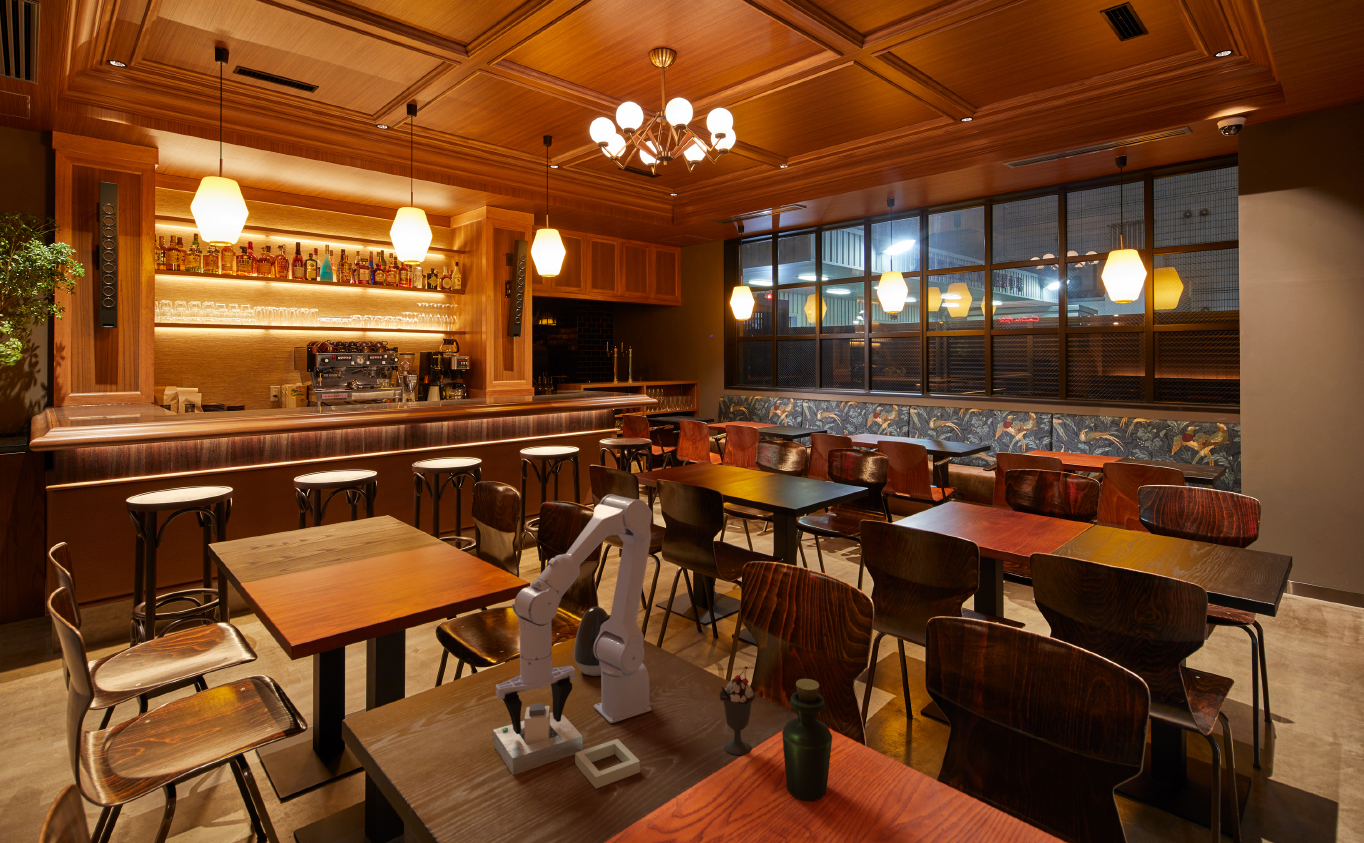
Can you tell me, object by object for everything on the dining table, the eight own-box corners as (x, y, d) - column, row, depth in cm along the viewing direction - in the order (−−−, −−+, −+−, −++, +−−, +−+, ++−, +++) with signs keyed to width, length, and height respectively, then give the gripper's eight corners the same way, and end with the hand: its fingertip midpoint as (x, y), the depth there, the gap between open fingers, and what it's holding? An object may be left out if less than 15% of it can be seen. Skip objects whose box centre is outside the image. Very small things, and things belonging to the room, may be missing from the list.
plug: (550, 741, 124) (549, 700, 123) (548, 754, 119) (548, 711, 119) (527, 743, 123) (526, 701, 122) (525, 756, 119) (524, 713, 118)
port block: (559, 724, 129) (559, 708, 129) (582, 751, 120) (582, 734, 120) (493, 745, 122) (493, 728, 122) (513, 775, 113) (512, 756, 113)
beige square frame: (617, 749, 121) (617, 738, 121) (639, 772, 114) (639, 761, 114) (575, 763, 116) (575, 753, 116) (595, 788, 109) (595, 777, 109)
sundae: (760, 742, 123) (760, 664, 122) (748, 761, 117) (748, 679, 116) (727, 734, 126) (727, 658, 125) (714, 752, 120) (714, 672, 119)
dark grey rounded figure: (599, 685, 146) (598, 618, 145) (564, 674, 151) (563, 609, 150) (627, 668, 154) (627, 605, 153) (593, 658, 160) (593, 597, 159)
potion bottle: (819, 771, 114) (820, 670, 113) (840, 801, 106) (841, 693, 105) (774, 777, 112) (775, 675, 111) (792, 808, 104) (793, 698, 103)
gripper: (564, 637, 127) (565, 705, 128) (489, 654, 119) (491, 727, 120) (579, 650, 121) (580, 721, 122) (502, 669, 113) (503, 745, 114)
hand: (537, 725), depth 121 cm, fingers open, 7 cm apart
